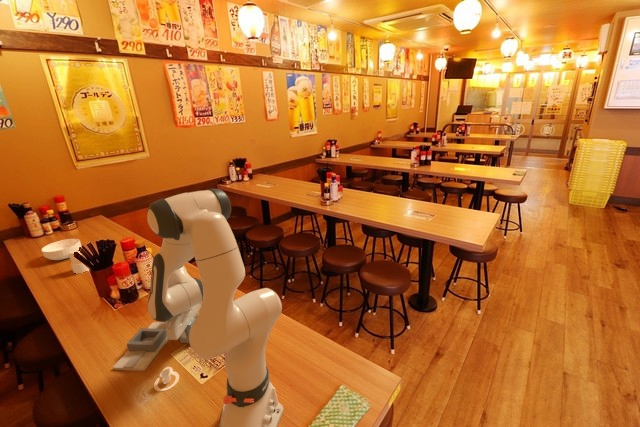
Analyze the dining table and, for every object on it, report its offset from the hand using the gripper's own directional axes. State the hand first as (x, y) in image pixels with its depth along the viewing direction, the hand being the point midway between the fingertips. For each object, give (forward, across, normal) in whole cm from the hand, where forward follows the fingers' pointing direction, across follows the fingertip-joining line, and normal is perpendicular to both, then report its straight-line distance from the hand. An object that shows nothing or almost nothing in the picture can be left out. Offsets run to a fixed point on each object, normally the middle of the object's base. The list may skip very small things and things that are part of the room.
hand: (188, 331), depth 121 cm
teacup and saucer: (+4, -17, -3) cm, 18 cm away
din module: (+4, 0, 0) cm, 4 cm away
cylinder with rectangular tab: (+4, +52, +94) cm, 107 cm away
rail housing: (+4, -4, +15) cm, 16 cm away
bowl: (+4, +69, +122) cm, 140 cm away
